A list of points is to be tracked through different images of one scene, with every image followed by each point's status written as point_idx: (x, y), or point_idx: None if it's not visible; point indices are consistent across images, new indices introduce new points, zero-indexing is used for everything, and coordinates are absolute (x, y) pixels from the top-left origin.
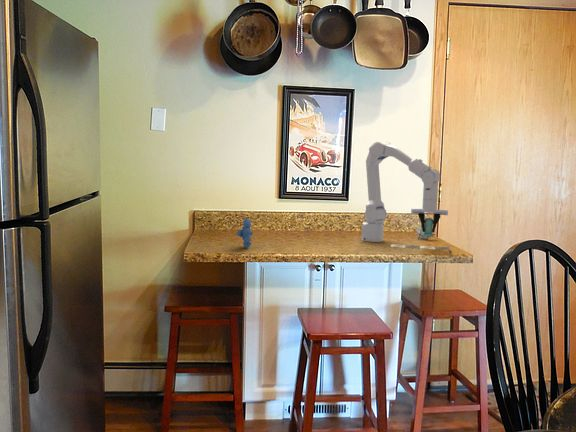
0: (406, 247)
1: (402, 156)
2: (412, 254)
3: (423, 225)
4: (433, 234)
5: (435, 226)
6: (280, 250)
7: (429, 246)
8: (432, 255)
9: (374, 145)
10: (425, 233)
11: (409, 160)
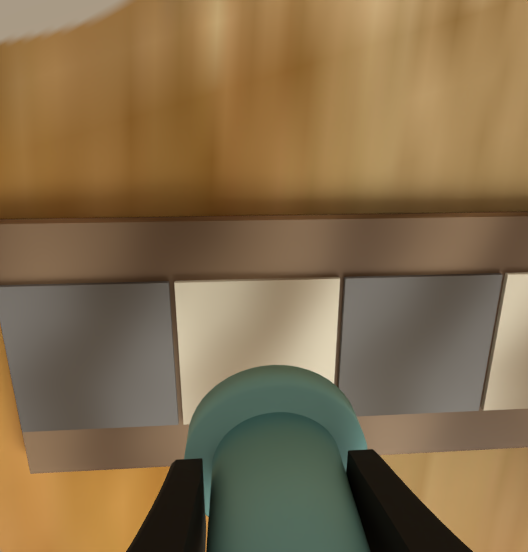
0: (492, 284)
1: None
2: (455, 13)
3: (419, 531)
4: (188, 439)
5: (137, 542)
6: None
7: None
8: (214, 16)
9: None
10: (322, 428)
11: None
